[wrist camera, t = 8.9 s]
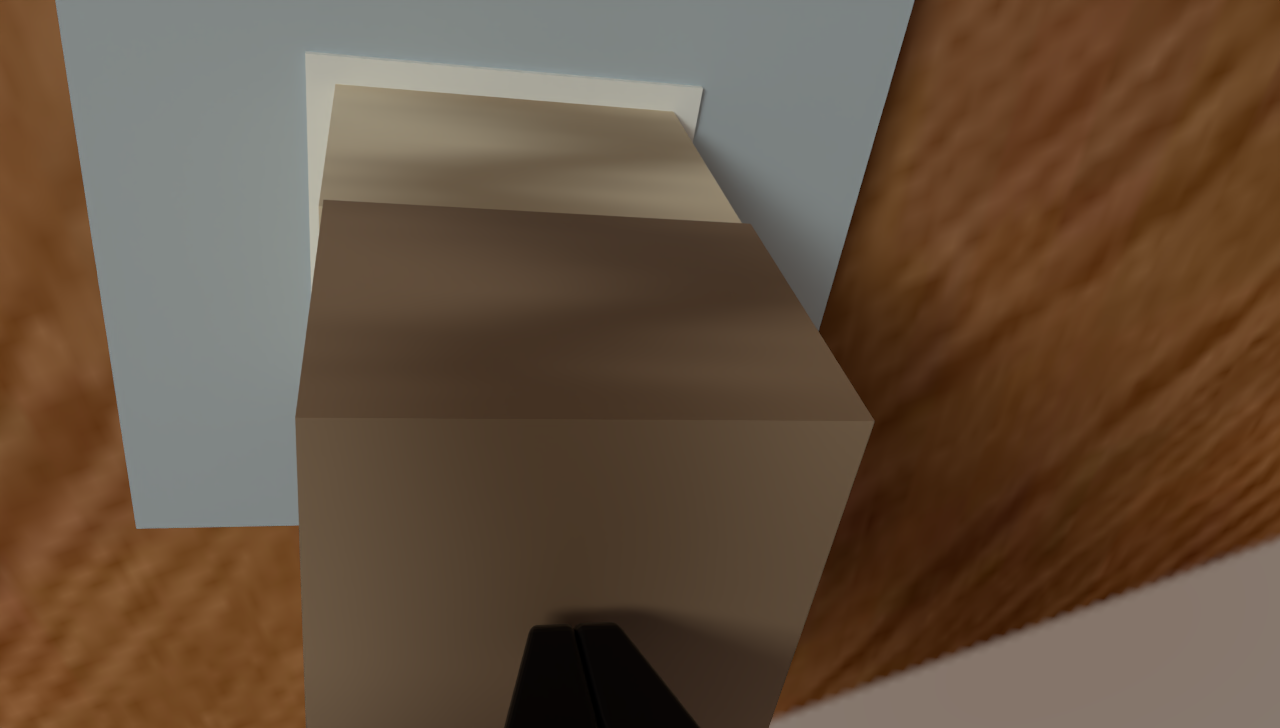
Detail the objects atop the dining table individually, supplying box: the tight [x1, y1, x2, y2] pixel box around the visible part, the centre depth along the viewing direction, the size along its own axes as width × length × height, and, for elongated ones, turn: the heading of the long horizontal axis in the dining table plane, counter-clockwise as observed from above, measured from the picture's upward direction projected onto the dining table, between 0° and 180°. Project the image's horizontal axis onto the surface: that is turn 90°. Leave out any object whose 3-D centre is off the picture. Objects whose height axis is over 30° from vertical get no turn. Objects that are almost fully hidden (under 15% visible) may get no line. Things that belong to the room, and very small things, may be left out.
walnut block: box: [295, 200, 875, 728], centre depth 12 cm, size 5×5×4 cm
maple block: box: [319, 84, 742, 230], centre depth 15 cm, size 5×5×4 cm
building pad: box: [55, 0, 915, 529], centre depth 17 cm, size 12×12×1 cm
